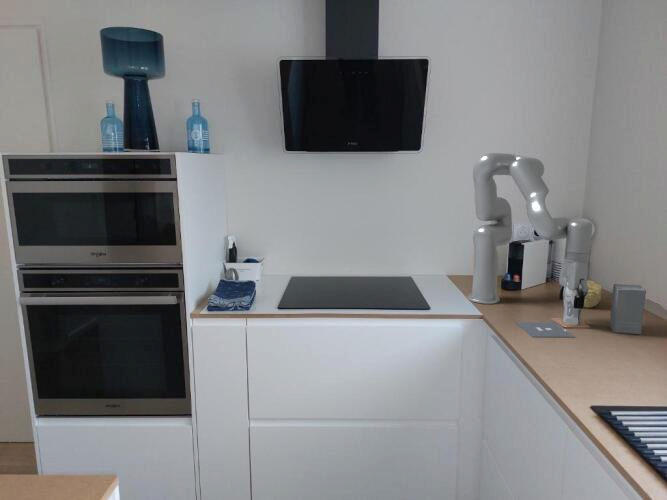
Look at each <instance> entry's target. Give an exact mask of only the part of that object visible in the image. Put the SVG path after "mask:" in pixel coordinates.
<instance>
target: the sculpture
mask: <svg viewBox="0 0 667 500" xmlns="http://www.w3.org/2000/svg"><path fill="white" fill-rule="evenodd" d="M587 285H588V287H589V290H588V292H587V295H586V298H585V301H584V308H585V309H587V308H588V309H589V308H590V309H591V308H594V307H596V306H597V305H598V304H599V302H600V301H601V297H602V289H603V286H602V285H600V284H599V283H597V282H595V281H594V280H589V279H587Z"/></svg>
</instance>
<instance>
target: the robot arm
mask: <svg viewBox="0 0 667 500" xmlns="http://www.w3.org/2000/svg"><path fill="white" fill-rule="evenodd" d="M544 173H545V166H544V163H543V162H542V161H541V160H540V159H538V158H535V157H530V156H523V155H518V154H514V153H502V152H492V153H486V154H483V155H481V156H480V157H479V158H478V159H477V160H476V162H475V164H474V165H473V169H472V179H473V186H474V187H473V189H474V204H475V205H474V206H475V209H474V210H475V216H476V218H477V219H478V220H479V221H481V222H490V224H484V225H480V226H478V227H477V228H476V229H475V230H474V231H473V235H472V240H473V242H472V244H473V251H474V253H473V254H474V255H473V270H472V271H473V274H472V289H471V293H469V294H468V295H467V299H468V300H469V301H471V302H474V303H477V304H483V305H484V304H485V305H493V304H498V303H499V302H500V300H501V299H500V297H499V296H498V295H497V285H498V284H497V283H498V272H499V271H498V270H499V253H498V249H497V247H503V246H506V245H508V244H510V242H511V240H512V238H513V219H512V217H513V215H512V208H511V205H510V202H508V200H507V199H506V198H504V197H502V196H501V197H500V196H499V197H498V193H497V191H498V189H497V184H496V181H495V178H494V176H510V177H511V178H512V180H513V181H514V183H515V185H516V187H517V188H518V190H519V191H520V193H521V195H522V196H523V198H524V200H525V201H526V206H525V207H526V213H527V218H528V220H529V223H530V224H531V226H532V228H533V229H534V231H535V232H536V234H537V235H538V237H540V239H542V240H545V241H555V240H563V239H565V248H564V256H563V260H562V264H561V266H560V267H561V268H560V272H559V276H558V277H559V278H558V279H559V281H558V283H559V297H558V298H559V300H560V301H563V290H564V285H565V281H567V282H568V289H570V290H575V294H576V297H575V298H574V308H575V309H584V308H585V307H584V300H585V298H586V295H587V292H588V290H589V287H588V285H587V280H588V277H589V276H588V274H589V272H588V270H589V265H588V263H589V262H590V261H589V259H590V252H591V244H592V235H593V226H594V225H593V223H592V222H590V221H589V220H588V221H587V220H577V219H576V220H575V219H570V218H567V217H555V218H553V217H552V215H551V213H549V211H548V209H547V207H546V197H547V196H548V194H549V191H550V189H549V187H548V185H547V184H546V183H545V180H543V178H542V177H543V175H544ZM579 284H581V286H582V288H578V286H579ZM578 291H581V292H580V293H579V292H578Z"/></svg>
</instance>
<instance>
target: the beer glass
mask: <svg viewBox="0 0 667 500" xmlns="http://www.w3.org/2000/svg"><path fill="white" fill-rule="evenodd" d="M578 288H582V286H581V284H579V286H578ZM578 292H579V293H580V292H581V291H578ZM575 297H576V294H575V290H570V289H568V282H567V281H565V285H564V290H563V300H562V303H563V315H562V317H561V318H562V322H563V323H564V324H567V325H573V326H578V325H581V322H582V321H581V319H582V318H581V315H582V309H575V308H574V298H575ZM584 301H585V300H584Z"/></svg>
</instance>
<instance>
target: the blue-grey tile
mask: <svg viewBox="0 0 667 500" xmlns="http://www.w3.org/2000/svg"><path fill="white" fill-rule="evenodd" d="M515 324H516V325H517V326H518V327H520V328H521V329H522V330H523V331H524V332H525V333H527V334H528V335H529V336H530V337H532V338H576V336H575V335H573V334H572V333H571V332H569V331H568V330H566V328H562V327H561V326H560V325H558V324H557V323H555V322H554V321H515Z"/></svg>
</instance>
